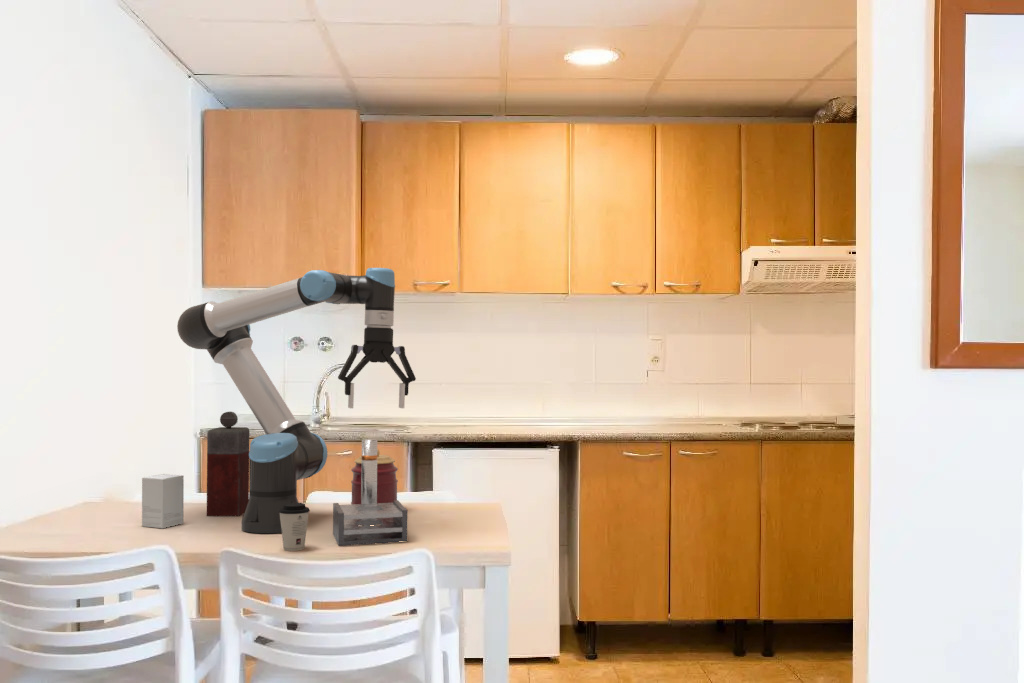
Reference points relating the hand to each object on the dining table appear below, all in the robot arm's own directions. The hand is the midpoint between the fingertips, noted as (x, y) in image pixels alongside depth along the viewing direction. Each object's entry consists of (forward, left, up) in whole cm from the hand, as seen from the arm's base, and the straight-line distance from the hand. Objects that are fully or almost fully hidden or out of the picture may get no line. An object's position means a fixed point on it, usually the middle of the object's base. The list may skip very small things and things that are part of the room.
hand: (376, 408), depth 230 cm
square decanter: (-37, +25, -30) cm, 54 cm away
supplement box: (-53, +11, -30) cm, 62 cm away
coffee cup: (-22, -25, -30) cm, 45 cm away
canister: (+2, +17, -30) cm, 35 cm away
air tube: (-2, -2, -30) cm, 30 cm away
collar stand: (-4, -18, -30) cm, 35 cm away
